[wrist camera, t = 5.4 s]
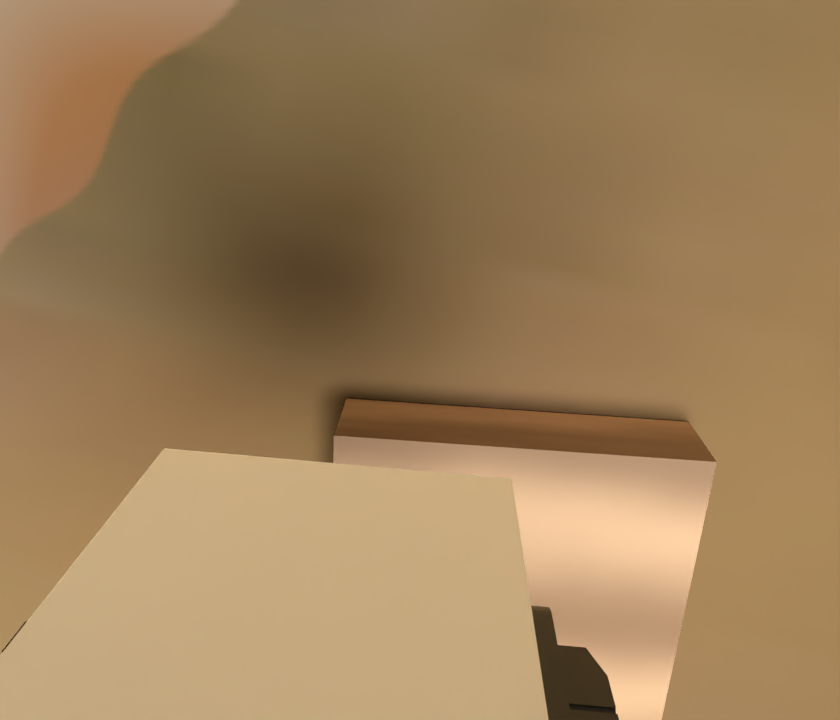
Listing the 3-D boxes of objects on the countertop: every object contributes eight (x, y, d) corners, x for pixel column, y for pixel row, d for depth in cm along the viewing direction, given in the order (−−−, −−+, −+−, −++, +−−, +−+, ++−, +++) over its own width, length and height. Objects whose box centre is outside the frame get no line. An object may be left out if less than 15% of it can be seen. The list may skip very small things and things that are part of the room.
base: (346, 398, 27) (333, 435, 24) (688, 421, 26) (716, 461, 24) (339, 669, 31) (328, 728, 28) (635, 691, 30) (654, 753, 28)
